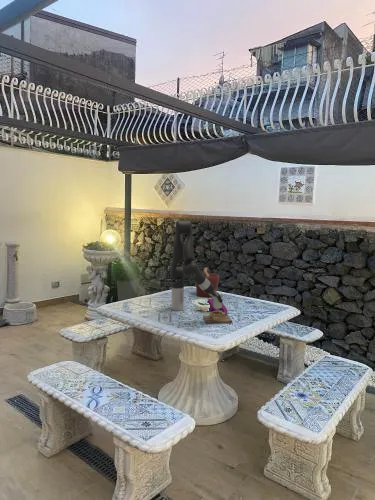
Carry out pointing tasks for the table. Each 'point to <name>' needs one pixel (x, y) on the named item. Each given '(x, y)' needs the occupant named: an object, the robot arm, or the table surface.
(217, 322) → the cup bracket
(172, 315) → the table surface
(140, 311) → the table surface
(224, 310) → the mounting bracket
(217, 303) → the rail post
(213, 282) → the bucket
